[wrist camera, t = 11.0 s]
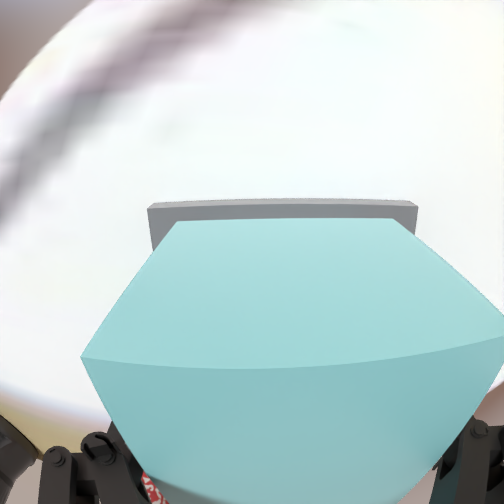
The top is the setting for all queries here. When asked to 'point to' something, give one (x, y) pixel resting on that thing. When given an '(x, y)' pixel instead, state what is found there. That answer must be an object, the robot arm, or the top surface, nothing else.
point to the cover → (293, 361)
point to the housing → (276, 211)
